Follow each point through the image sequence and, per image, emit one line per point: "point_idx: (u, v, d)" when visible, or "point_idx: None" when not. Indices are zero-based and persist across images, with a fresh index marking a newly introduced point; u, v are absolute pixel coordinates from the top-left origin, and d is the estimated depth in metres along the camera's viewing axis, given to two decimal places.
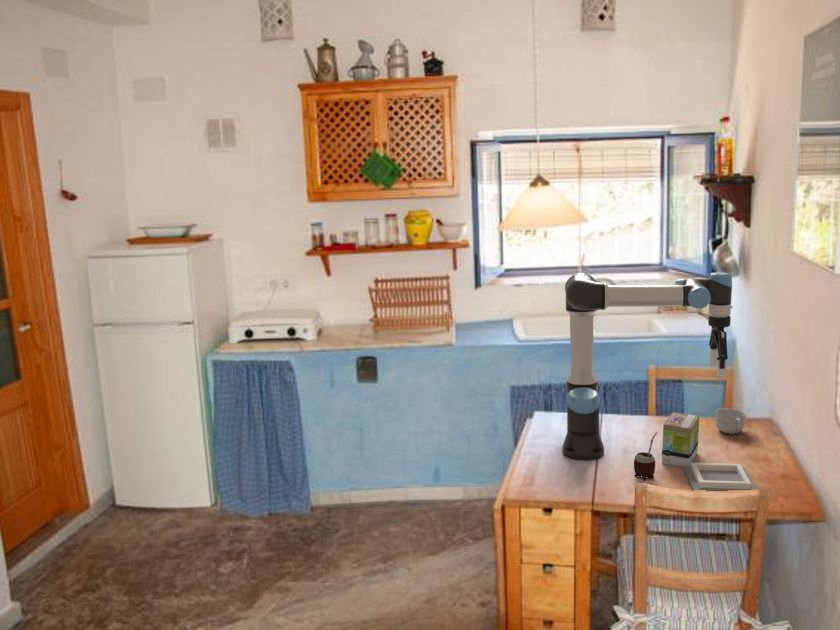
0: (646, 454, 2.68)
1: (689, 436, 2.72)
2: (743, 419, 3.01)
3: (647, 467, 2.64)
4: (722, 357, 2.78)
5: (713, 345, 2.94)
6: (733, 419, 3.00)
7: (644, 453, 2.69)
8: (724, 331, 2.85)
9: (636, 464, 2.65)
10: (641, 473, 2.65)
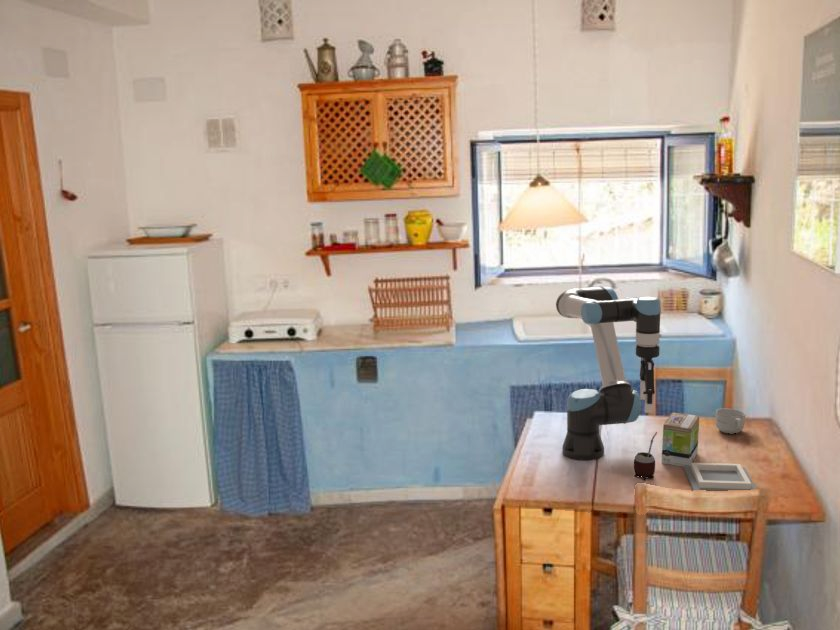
0: (646, 454, 2.68)
1: (689, 436, 2.72)
2: (743, 419, 3.01)
3: (647, 467, 2.64)
4: (649, 391, 2.52)
5: (643, 376, 2.67)
6: (733, 419, 3.00)
7: (644, 453, 2.69)
8: (653, 362, 2.58)
9: (636, 464, 2.65)
10: (641, 473, 2.65)
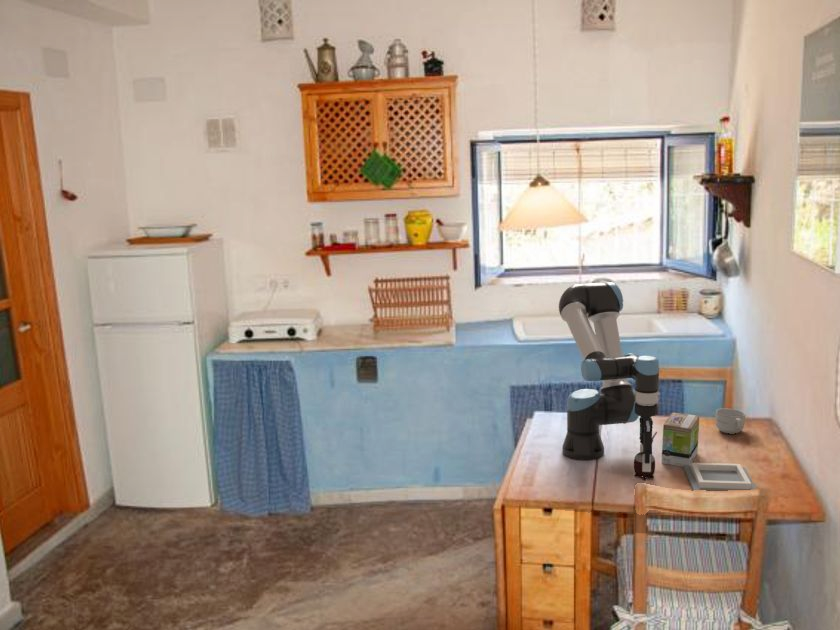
0: None
1: (689, 436, 2.72)
2: (743, 419, 3.01)
3: None
4: (646, 452, 2.59)
5: (643, 438, 2.69)
6: (733, 419, 3.00)
7: None
8: (651, 420, 2.62)
9: (636, 464, 2.66)
10: (641, 473, 2.65)
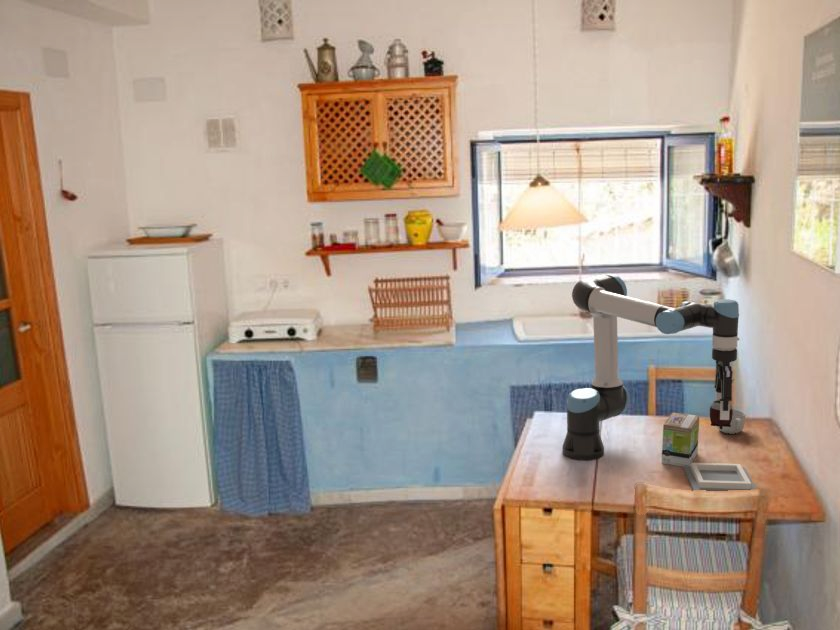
0: None
1: (689, 436, 2.72)
2: (743, 419, 3.01)
3: None
4: (725, 398, 2.49)
5: (719, 386, 2.59)
6: (733, 419, 3.00)
7: (720, 401, 2.59)
8: (730, 366, 2.52)
9: (713, 412, 2.56)
10: (718, 421, 2.56)
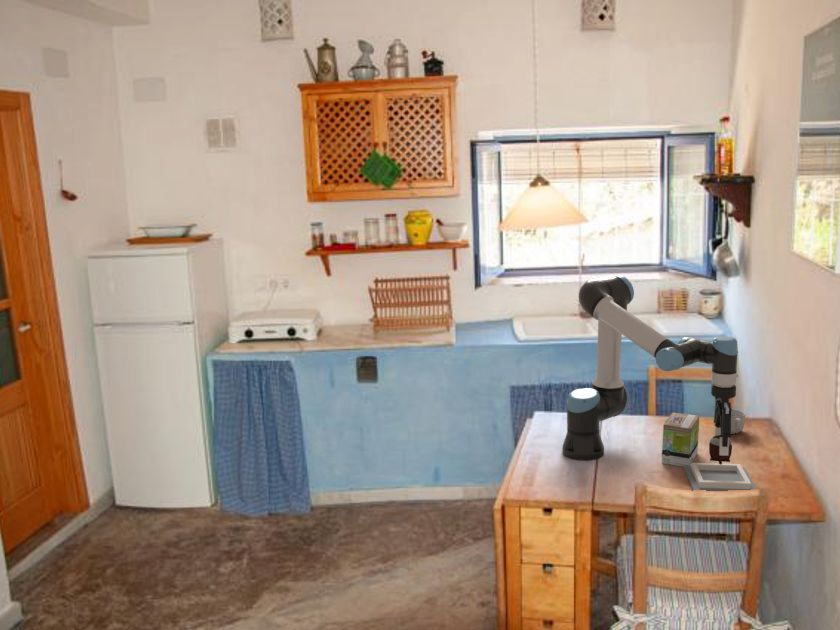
0: None
1: (689, 436, 2.72)
2: (743, 419, 3.01)
3: None
4: (725, 435, 2.52)
5: (718, 421, 2.62)
6: (733, 419, 3.00)
7: None
8: (729, 402, 2.55)
9: (712, 447, 2.58)
10: (717, 456, 2.58)
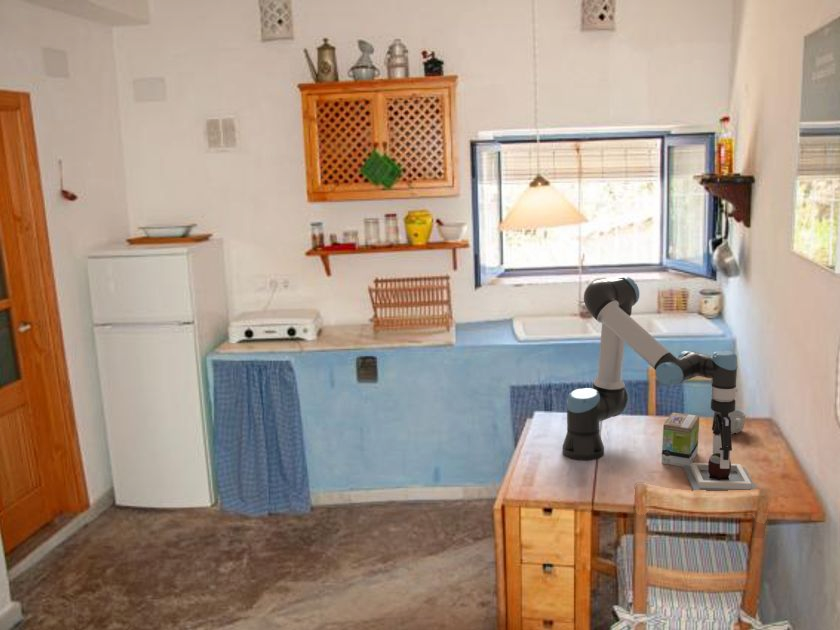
0: None
1: (689, 436, 2.72)
2: (743, 419, 3.01)
3: None
4: (726, 448, 2.50)
5: (716, 430, 2.65)
6: (733, 419, 3.00)
7: (719, 454, 2.63)
8: None
9: (711, 465, 2.59)
10: (716, 474, 2.59)
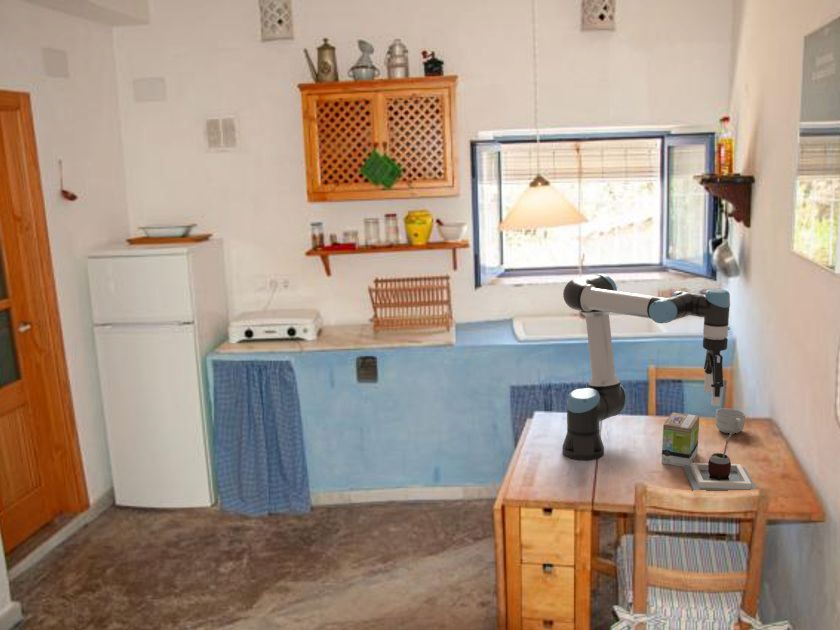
0: (721, 455, 2.62)
1: (689, 436, 2.72)
2: (743, 419, 3.01)
3: (724, 468, 2.58)
4: (717, 384, 2.50)
5: (708, 369, 2.65)
6: (733, 419, 3.00)
7: (719, 454, 2.63)
8: (720, 355, 2.57)
9: (711, 465, 2.59)
10: (716, 474, 2.59)
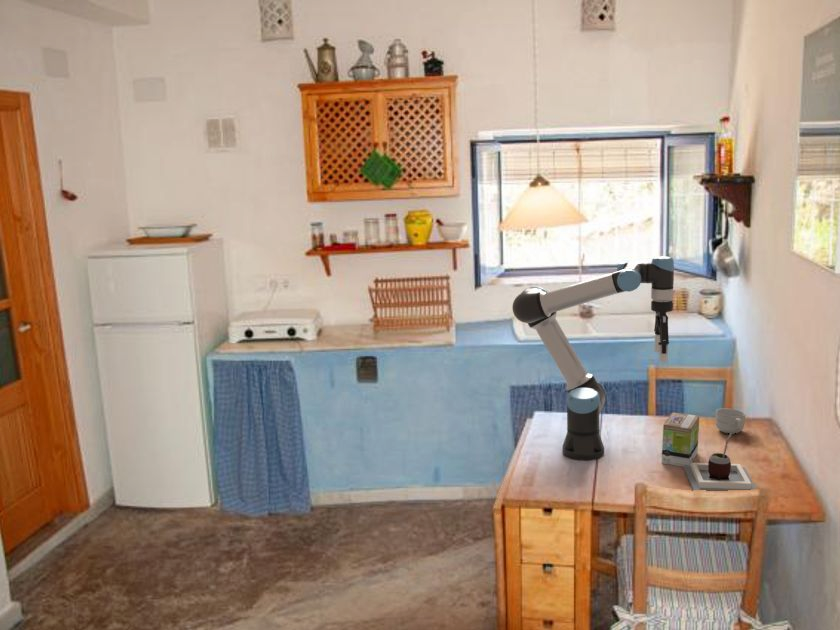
0: (721, 455, 2.62)
1: (689, 436, 2.72)
2: (743, 419, 3.01)
3: (724, 468, 2.58)
4: (663, 342, 2.75)
5: (657, 330, 2.91)
6: (733, 419, 3.00)
7: (719, 454, 2.63)
8: (667, 316, 2.82)
9: (711, 465, 2.59)
10: (716, 474, 2.59)
